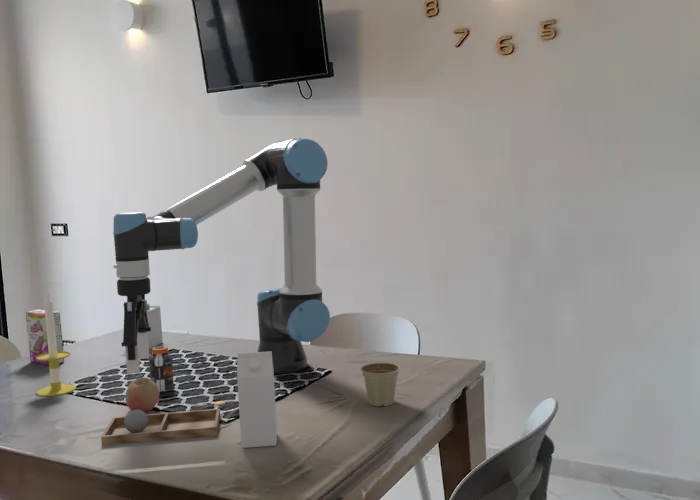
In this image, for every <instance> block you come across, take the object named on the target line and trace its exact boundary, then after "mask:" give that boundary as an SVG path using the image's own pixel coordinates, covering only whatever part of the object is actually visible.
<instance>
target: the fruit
mask: <svg viewBox="0 0 700 500" xmlns="http://www.w3.org/2000/svg"><path fill="white" fill-rule="evenodd" d="M160 393H161V392H159V388H158V386H157V384H156V383H155V382H154V381H152V380H151V379H150V378H148V377H138V378H135V379H134V380H132V381H131V382H130V383H129V385H128V387H127V389H126V392H125V396H124V397H125V403H126V406H127V408H128V409H129V410H130V411H132V410H141V411H143V412H145V413H148V412H151V411H152V410H153V409H154V407H155V406H156V405H157V404H158V402H159V400H160V399H159V398H160Z"/></svg>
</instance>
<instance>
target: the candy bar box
mask: <svg viewBox="0 0 700 500" xmlns="http://www.w3.org/2000/svg"><path fill="white" fill-rule="evenodd" d="M53 311H54V310H53ZM60 314H61V313H60V311H54V322H55V333H56V344H57V352H58V351H64V345H63V344H64V343H63V334H62V332H63V331H62V324H61V315H60ZM25 318H26V319H25V321H26V330H27V338H28V340H27V341H28V350H29V358H30V362H31V363H34V364H40V365H45V366H49V361H40V360H37V359H36V357H37V356H39V355H41V354H45V353H49V351H48V340H47V329H46V318H45V309H39V308H38V309H33V310H28V311H25ZM63 363H65V358H62V359H59V365H60V364H63Z"/></svg>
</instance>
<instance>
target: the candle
mask: <svg viewBox="0 0 700 500" xmlns="http://www.w3.org/2000/svg"><path fill="white" fill-rule="evenodd" d="M46 294H47V295H46V298H45V301H44V302H43V303H44V310H45V318H46V329H47V340H48V351H49V353H45V354H41V355H39V356H37V357H36V359H37V360H40V361H49V365H48V367H49V379H50V385H48V386H45V387H43V388H40V389H38V390H37V391H36V395H37V396H39V397H47V398H48V397H58V396H63V395H66V394H69V393H72V392H74V391H76V389H77V387H76V385H74V384H71V383H70V384H68V383H67V384H66V383H62V382H61V371H60V370H61V369H60V364H59V359H62V358H64V359H65V358H68V357H70V355H71V352H69V351H66V350H65V351H64V350H63V351H58V352H57V344H56V333H55V322H54V303H53V301H52V299H51V297H50V295H49V294H48V292H46ZM73 390H74V391H73Z"/></svg>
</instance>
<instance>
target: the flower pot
mask: <svg viewBox="0 0 700 500" xmlns="http://www.w3.org/2000/svg"><path fill="white" fill-rule="evenodd" d="M400 370H401V366H400V365H398V364H395V363H391V362H373V363H368V364H364V365H362V366H360V371H361V374H362V377H363V378H364V384H365V390H366V396H367V402H368V404H369V405H371V406H375V407H381V406H384V407H388V406H390V405H391V406H392V405H393V404H394V403H395V399H396V398H395V397H396V389H397V388H396V387H397V378H398V375H399V371H400Z"/></svg>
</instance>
